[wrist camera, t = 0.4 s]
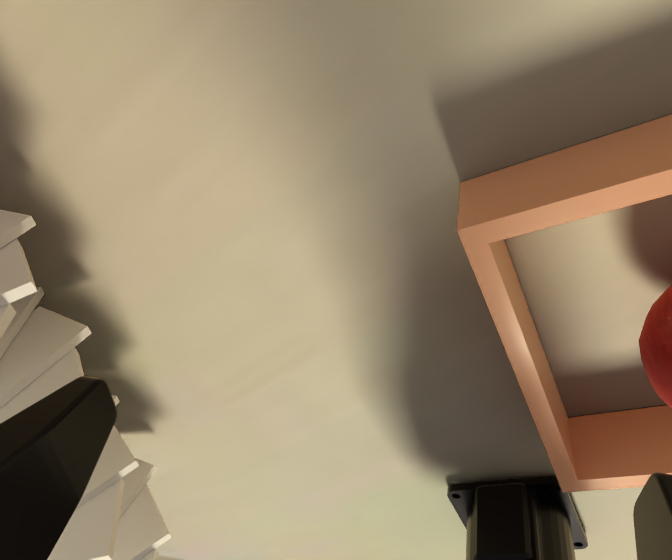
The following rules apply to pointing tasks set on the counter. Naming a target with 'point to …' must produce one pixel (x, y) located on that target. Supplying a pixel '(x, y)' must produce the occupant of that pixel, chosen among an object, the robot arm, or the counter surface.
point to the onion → (659, 346)
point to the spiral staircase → (48, 376)
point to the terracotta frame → (512, 310)
